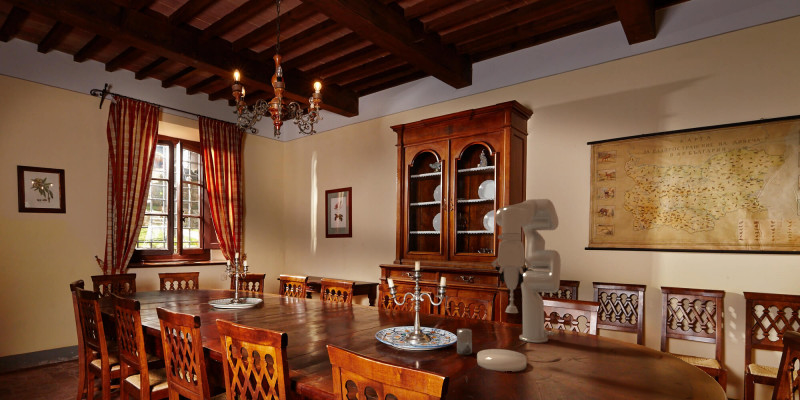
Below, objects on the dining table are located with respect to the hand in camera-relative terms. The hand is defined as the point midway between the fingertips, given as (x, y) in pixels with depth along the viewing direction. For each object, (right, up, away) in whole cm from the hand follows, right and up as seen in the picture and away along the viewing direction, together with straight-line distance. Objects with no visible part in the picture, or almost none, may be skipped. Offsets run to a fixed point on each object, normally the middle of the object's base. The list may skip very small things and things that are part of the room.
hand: (511, 283), depth 168 cm
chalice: (0, -11, -1) cm, 11 cm away
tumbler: (-18, -30, +6) cm, 35 cm away
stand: (-6, -29, -9) cm, 30 cm away
